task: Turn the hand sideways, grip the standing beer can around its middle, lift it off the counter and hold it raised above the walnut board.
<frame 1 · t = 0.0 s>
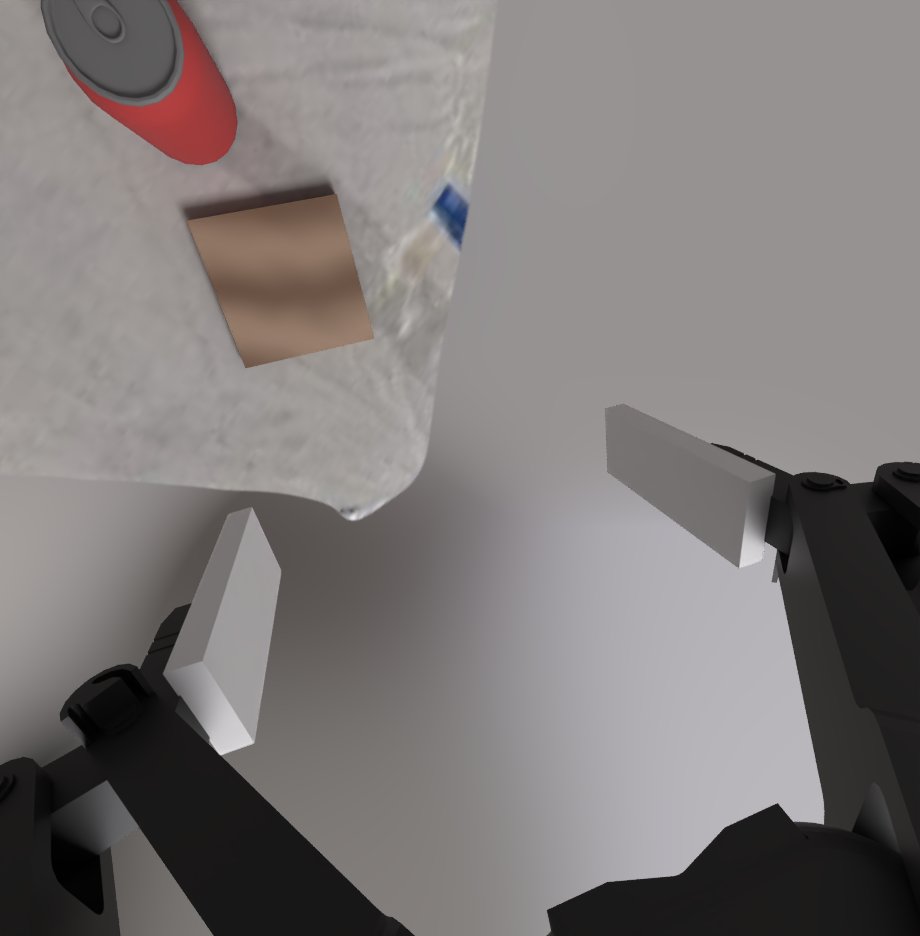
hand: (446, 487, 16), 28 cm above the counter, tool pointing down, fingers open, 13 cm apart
walnut board: (290, 284, 37), on the counter
beer can: (187, 111, 31), on the counter
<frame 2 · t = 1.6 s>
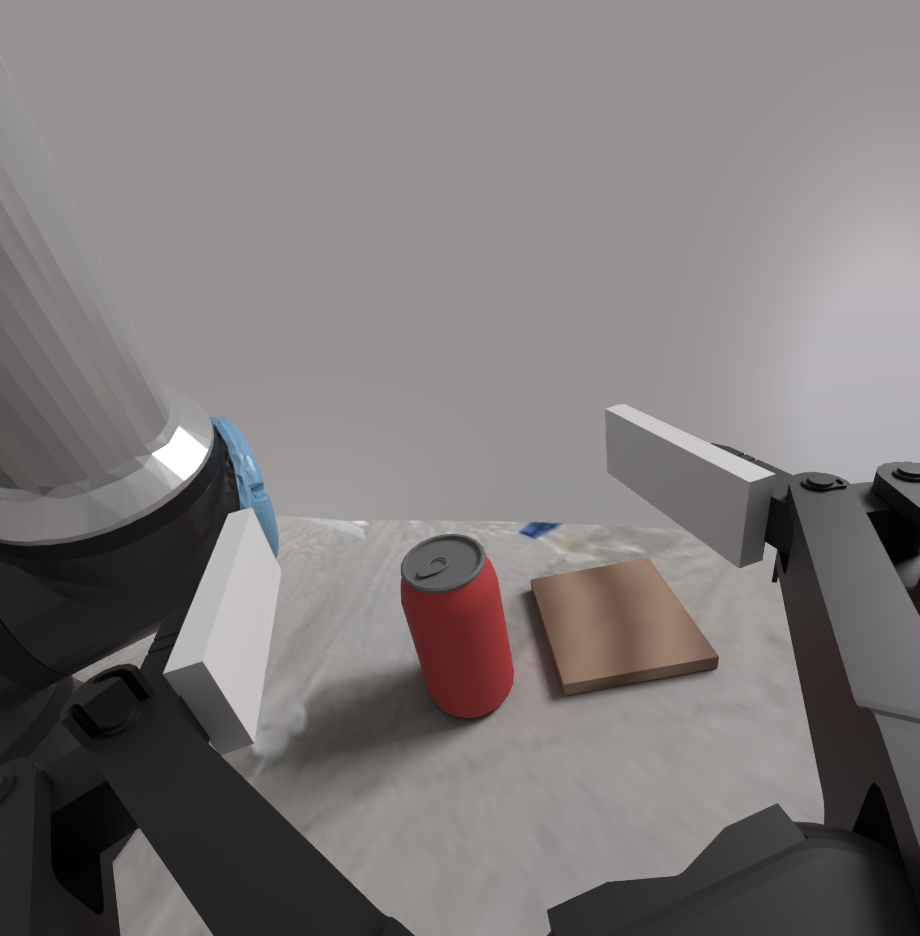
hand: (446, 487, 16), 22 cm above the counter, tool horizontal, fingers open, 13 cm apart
walnut board: (611, 623, 37), on the counter
beer can: (472, 683, 34), on the counter
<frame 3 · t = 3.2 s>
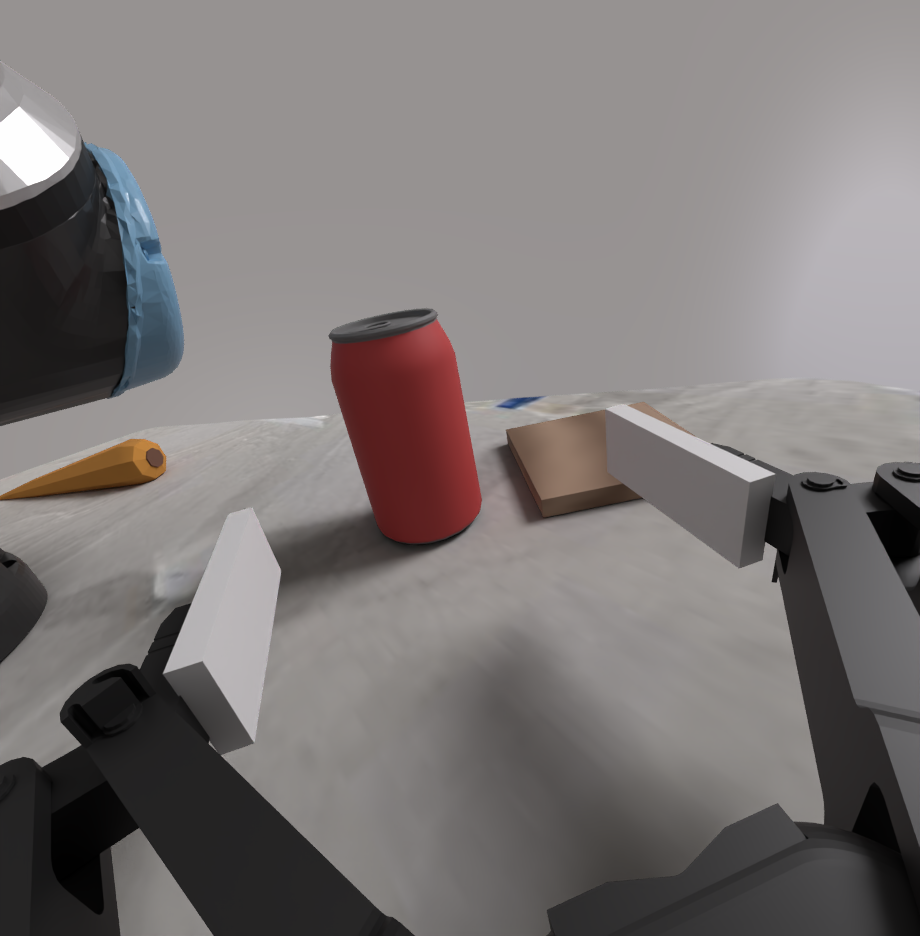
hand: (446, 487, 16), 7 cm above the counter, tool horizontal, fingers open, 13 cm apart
walnut board: (601, 458, 31), on the counter
beer can: (432, 519, 28), on the counter
carrot: (81, 490, 45), on the counter
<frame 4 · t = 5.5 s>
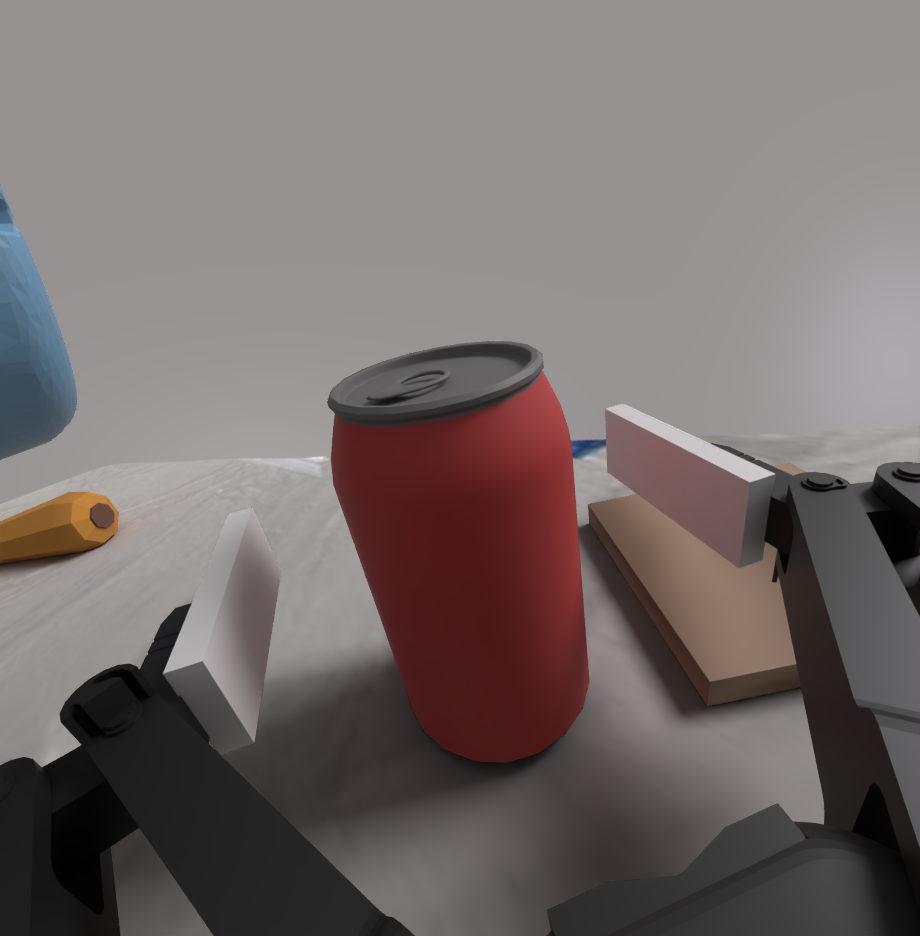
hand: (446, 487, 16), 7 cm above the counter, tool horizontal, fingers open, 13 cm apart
walnut board: (756, 565, 20), on the counter
beer can: (499, 684, 17), on the counter
carrot: (3, 560, 34), on the counter
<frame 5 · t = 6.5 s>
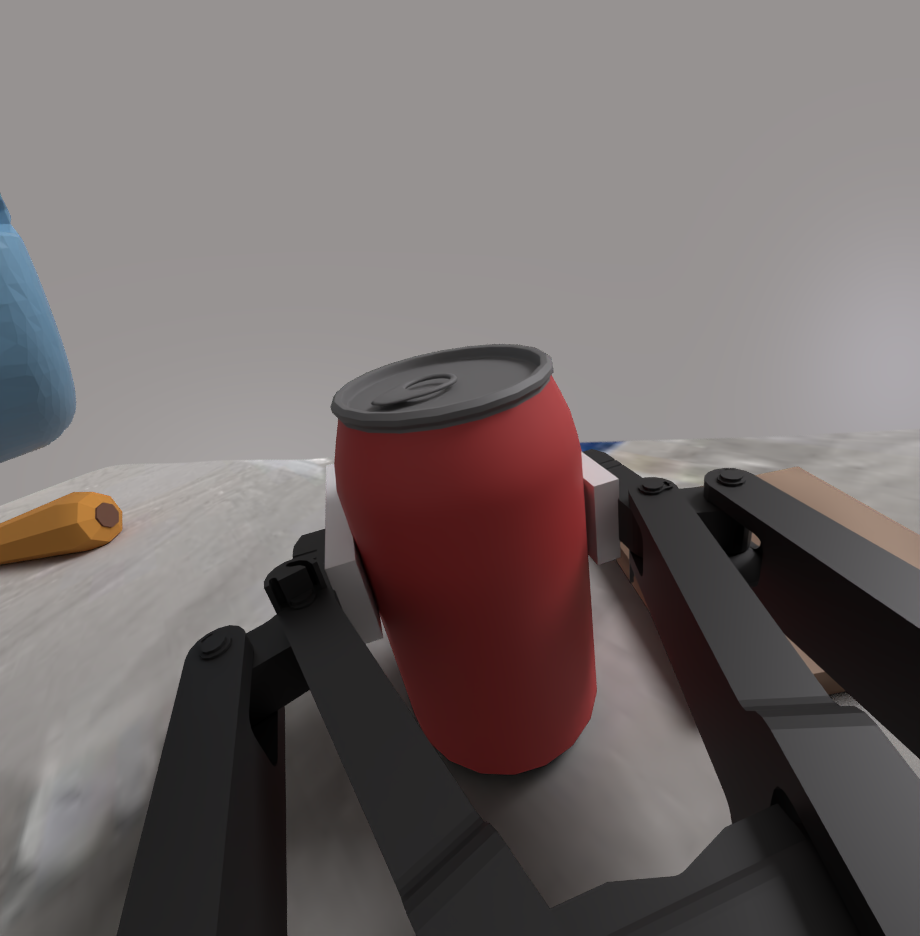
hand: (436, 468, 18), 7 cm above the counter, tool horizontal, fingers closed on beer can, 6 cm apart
walnut board: (766, 572, 19), on the counter
beer can: (505, 693, 17), on the counter, touching gripper
carrot: (5, 561, 34), on the counter
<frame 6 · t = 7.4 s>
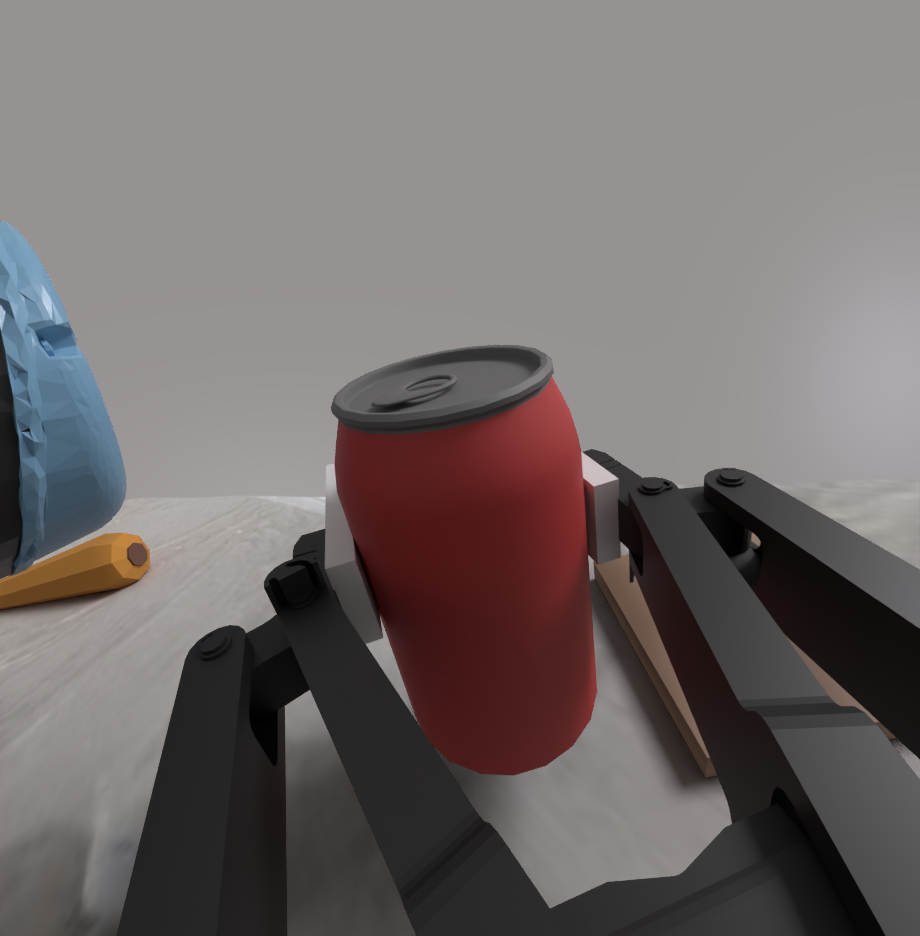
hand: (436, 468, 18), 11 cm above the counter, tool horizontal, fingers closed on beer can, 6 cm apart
walnut board: (752, 630, 21), on the counter
beer can: (505, 693, 17), point 3 cm above the counter, touching gripper
carrot: (38, 599, 36), on the counter
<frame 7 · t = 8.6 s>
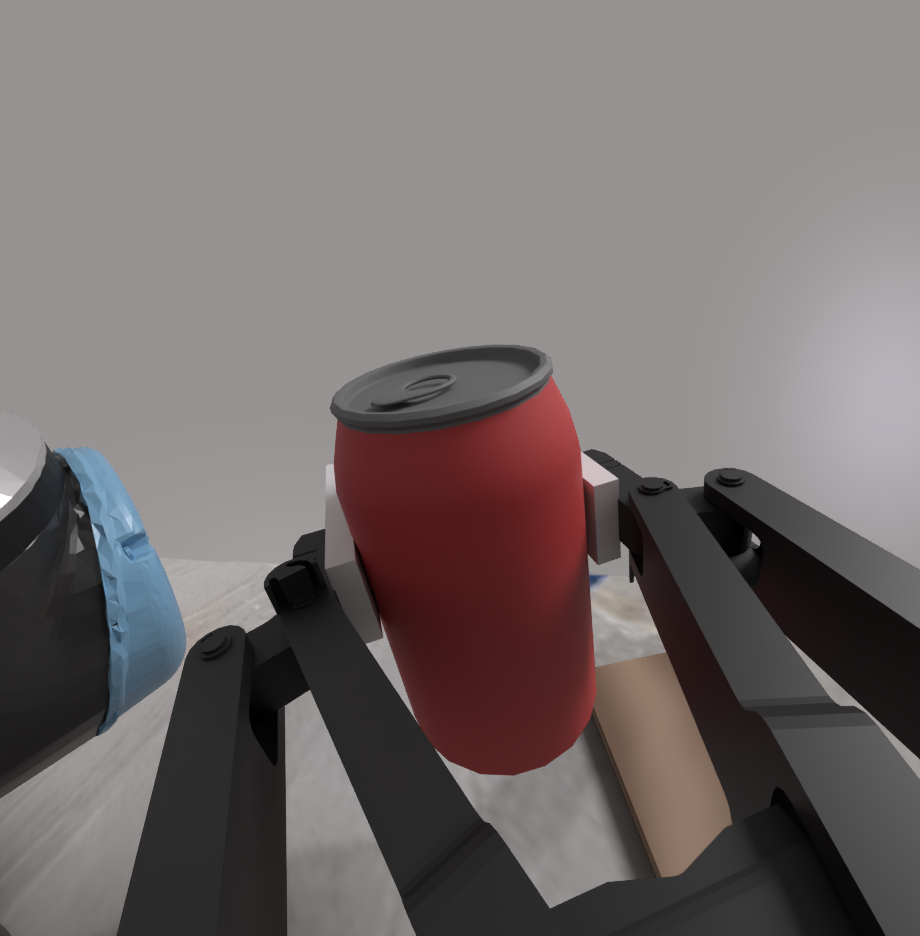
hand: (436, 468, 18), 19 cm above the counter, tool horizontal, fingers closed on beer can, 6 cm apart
walnut board: (710, 748, 25), on the counter
beer can: (504, 693, 17), point 12 cm above the counter, touching gripper
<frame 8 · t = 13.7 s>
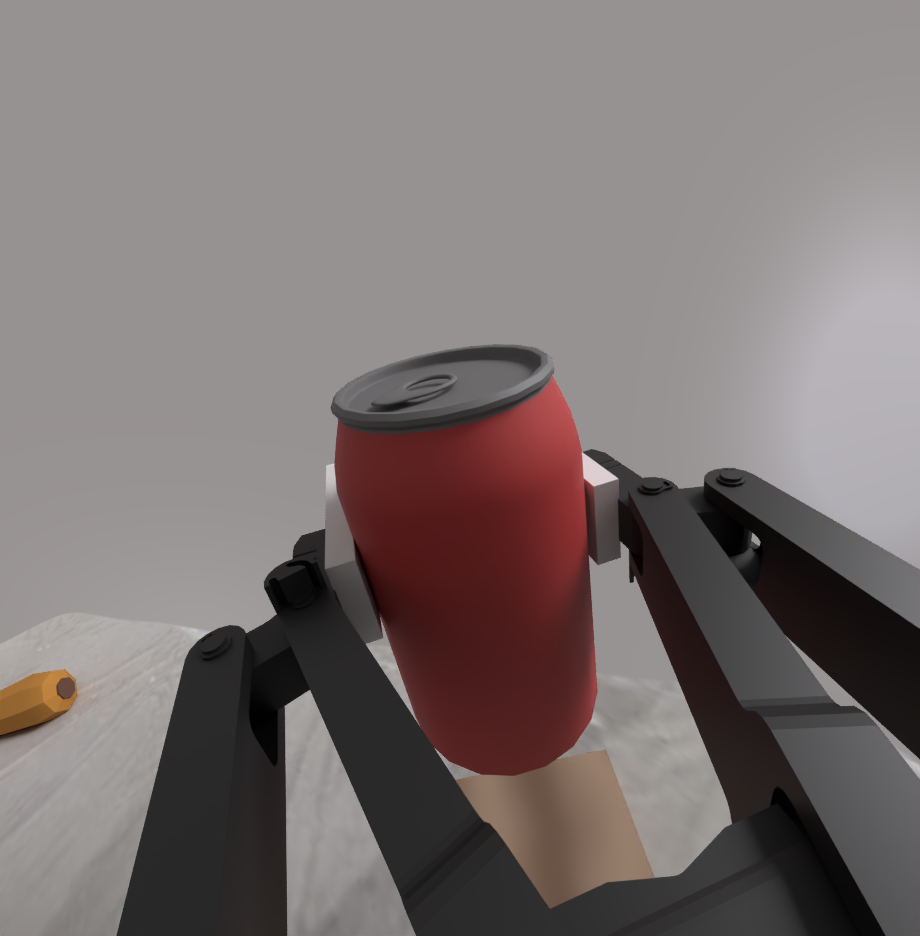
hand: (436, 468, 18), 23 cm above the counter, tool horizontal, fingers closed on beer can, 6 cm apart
walnut board: (544, 888, 24), on the counter
beer can: (505, 693, 17), point 16 cm above the counter, touching gripper
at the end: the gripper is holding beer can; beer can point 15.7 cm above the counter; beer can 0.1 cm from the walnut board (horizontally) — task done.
